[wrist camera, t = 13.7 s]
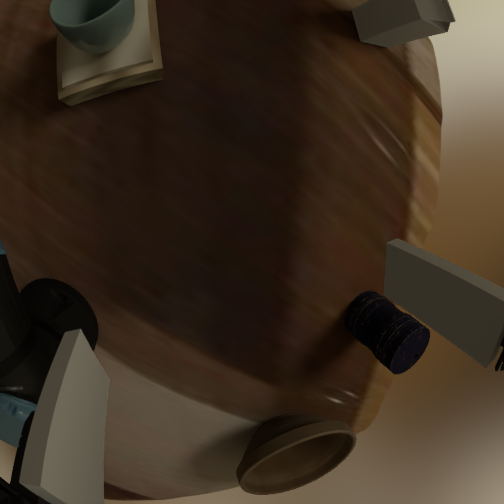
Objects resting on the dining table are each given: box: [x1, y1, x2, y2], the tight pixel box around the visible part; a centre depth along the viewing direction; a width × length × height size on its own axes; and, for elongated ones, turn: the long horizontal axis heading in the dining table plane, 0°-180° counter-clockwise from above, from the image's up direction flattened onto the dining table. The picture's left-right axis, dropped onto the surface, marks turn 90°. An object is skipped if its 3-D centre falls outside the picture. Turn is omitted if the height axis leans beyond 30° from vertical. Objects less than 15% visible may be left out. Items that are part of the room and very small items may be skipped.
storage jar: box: [344, 291, 430, 374], centre depth 46 cm, size 10×10×15 cm
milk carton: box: [352, 0, 455, 48], centre depth 26 cm, size 7×7×19 cm
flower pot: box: [236, 414, 356, 495], centre depth 53 cm, size 28×28×13 cm
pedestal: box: [57, 0, 163, 106], centre depth 23 cm, size 13×13×6 cm
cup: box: [49, 0, 136, 54], centre depth 16 cm, size 8×8×10 cm
